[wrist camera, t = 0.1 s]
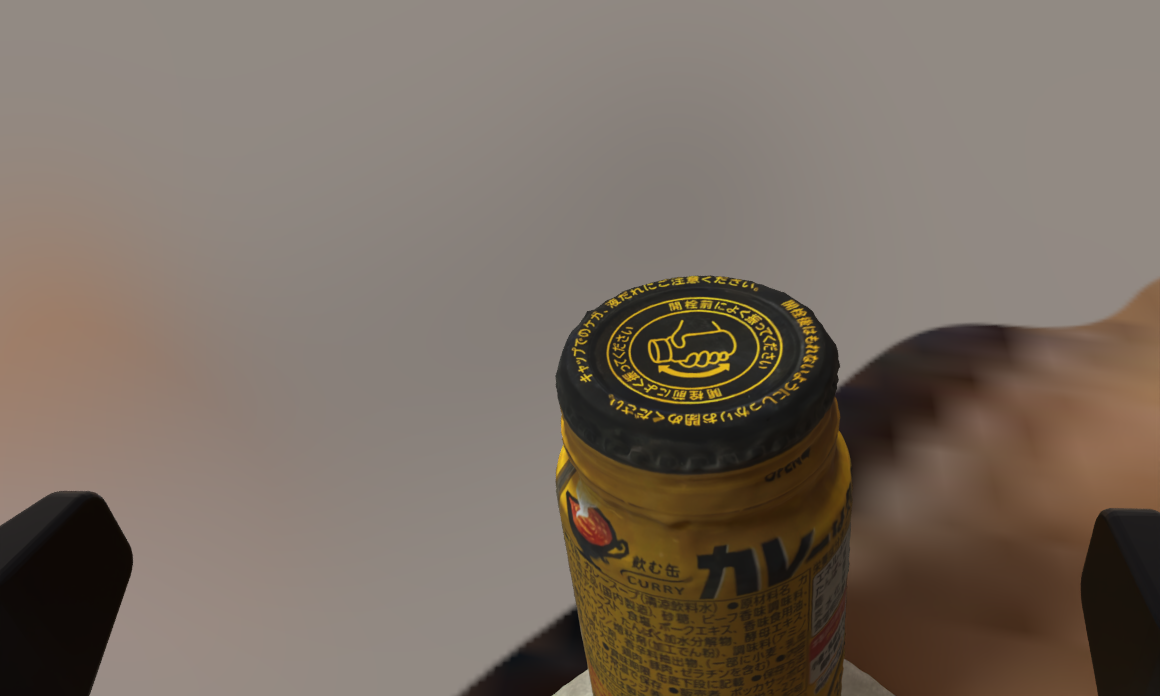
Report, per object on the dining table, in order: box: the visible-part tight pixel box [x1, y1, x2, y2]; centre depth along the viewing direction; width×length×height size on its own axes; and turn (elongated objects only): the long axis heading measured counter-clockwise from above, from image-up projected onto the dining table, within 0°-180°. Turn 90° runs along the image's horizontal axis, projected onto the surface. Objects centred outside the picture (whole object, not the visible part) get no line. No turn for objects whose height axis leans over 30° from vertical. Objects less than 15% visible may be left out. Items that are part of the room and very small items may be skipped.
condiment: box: [553, 276, 896, 696], centre depth 22 cm, size 7×8×12 cm
